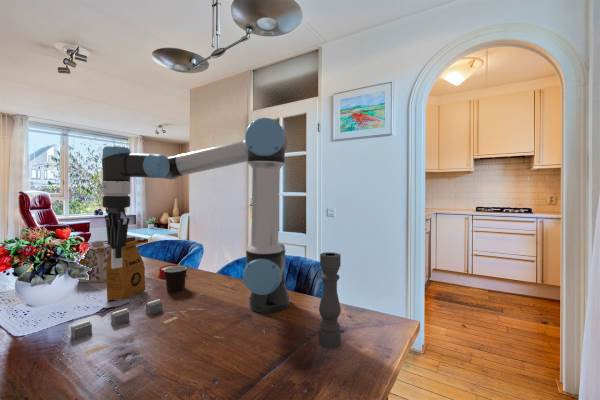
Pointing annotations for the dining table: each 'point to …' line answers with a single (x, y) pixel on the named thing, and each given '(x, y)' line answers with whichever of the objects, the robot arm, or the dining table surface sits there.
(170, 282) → the coffee mug
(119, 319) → the switch
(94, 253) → the decorative jar
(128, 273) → the coffee package
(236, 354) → the dining table surface
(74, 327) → the switch
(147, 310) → the switch
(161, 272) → the alarm clock
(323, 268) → the candle holder
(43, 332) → the dining table surface
